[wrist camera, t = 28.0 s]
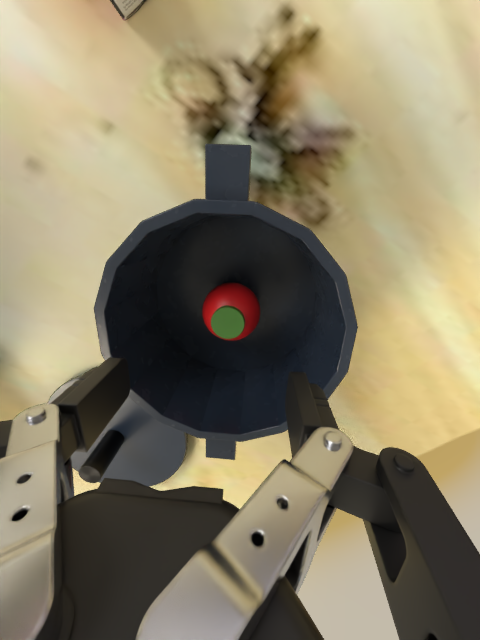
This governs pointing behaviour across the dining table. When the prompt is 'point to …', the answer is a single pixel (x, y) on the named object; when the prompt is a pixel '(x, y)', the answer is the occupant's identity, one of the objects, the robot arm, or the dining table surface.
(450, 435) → the dining table surface
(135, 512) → the robot arm
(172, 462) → the lid
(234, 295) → the strawberry
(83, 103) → the dining table surface
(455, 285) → the dining table surface
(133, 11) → the candy bar box
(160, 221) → the pot
